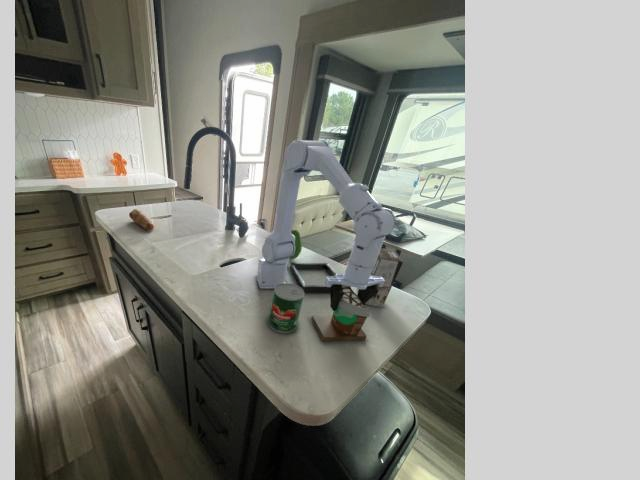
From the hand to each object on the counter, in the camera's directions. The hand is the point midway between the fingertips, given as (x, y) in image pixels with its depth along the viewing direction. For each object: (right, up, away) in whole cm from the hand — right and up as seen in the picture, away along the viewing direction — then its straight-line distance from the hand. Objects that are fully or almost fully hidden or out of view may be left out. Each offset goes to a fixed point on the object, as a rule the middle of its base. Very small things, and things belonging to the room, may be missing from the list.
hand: (344, 308), depth 71 cm
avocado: (-7, +25, +36) cm, 44 cm away
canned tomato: (-16, -5, +5) cm, 17 cm away
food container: (0, -5, +3) cm, 6 cm away
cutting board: (-1, -6, +4) cm, 7 cm away
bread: (-75, +39, +60) cm, 103 cm away
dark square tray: (0, +10, +26) cm, 28 cm away
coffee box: (+16, +3, +19) cm, 25 cm away
